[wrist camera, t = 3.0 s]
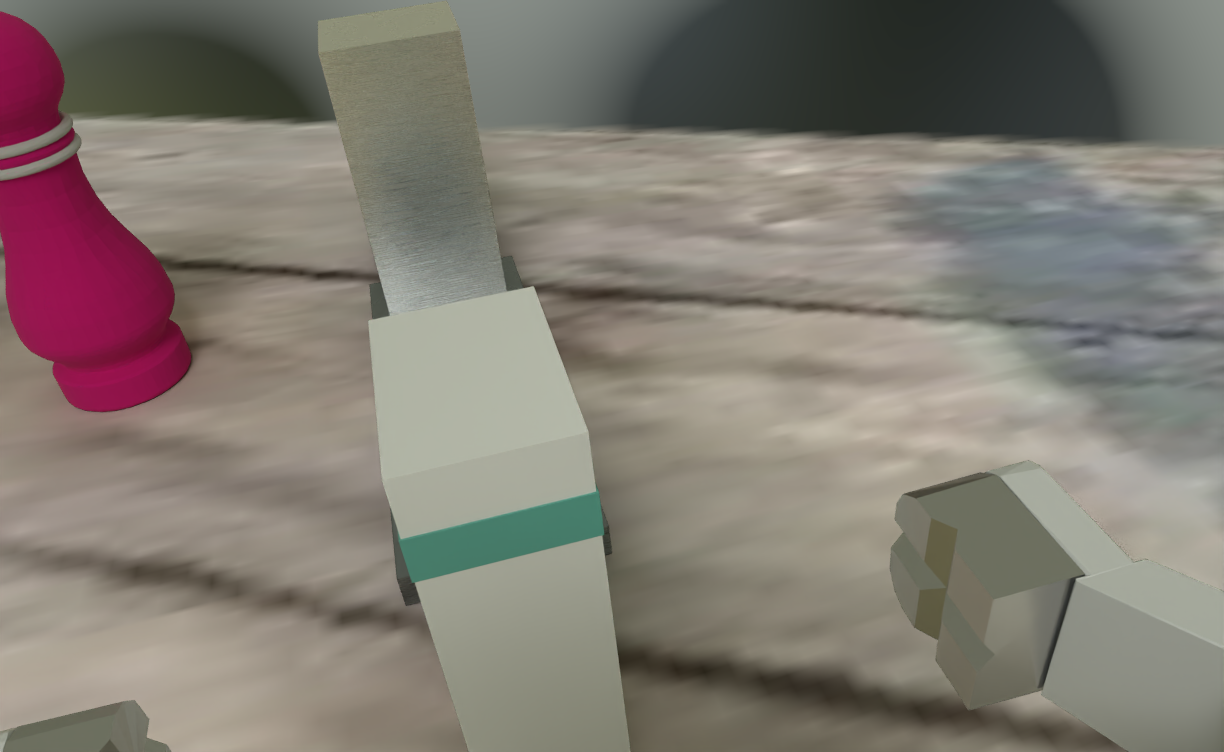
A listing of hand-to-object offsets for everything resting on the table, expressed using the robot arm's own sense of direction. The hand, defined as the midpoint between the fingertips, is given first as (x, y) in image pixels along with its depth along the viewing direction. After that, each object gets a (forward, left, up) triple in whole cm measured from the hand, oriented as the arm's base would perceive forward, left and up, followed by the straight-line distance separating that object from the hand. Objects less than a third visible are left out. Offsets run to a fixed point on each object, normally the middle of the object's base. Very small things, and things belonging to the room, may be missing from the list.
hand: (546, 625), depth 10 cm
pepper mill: (+9, +41, -19) cm, 46 cm away
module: (+7, +10, -19) cm, 23 cm away
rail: (+17, +23, -19) cm, 35 cm away
